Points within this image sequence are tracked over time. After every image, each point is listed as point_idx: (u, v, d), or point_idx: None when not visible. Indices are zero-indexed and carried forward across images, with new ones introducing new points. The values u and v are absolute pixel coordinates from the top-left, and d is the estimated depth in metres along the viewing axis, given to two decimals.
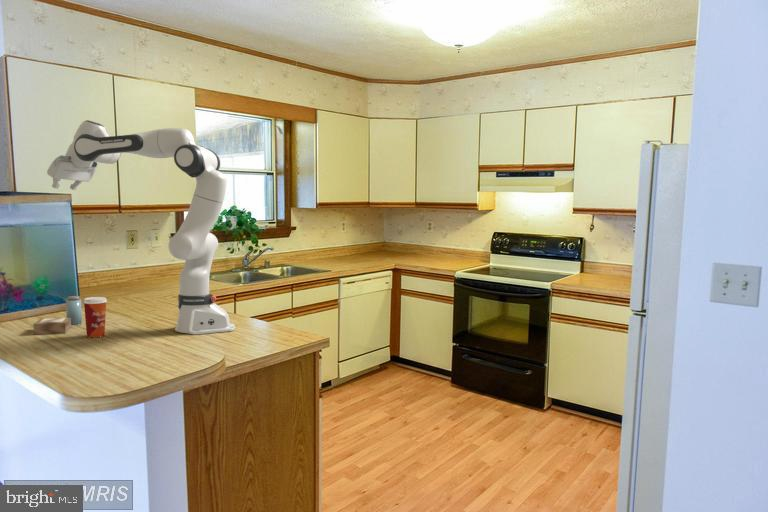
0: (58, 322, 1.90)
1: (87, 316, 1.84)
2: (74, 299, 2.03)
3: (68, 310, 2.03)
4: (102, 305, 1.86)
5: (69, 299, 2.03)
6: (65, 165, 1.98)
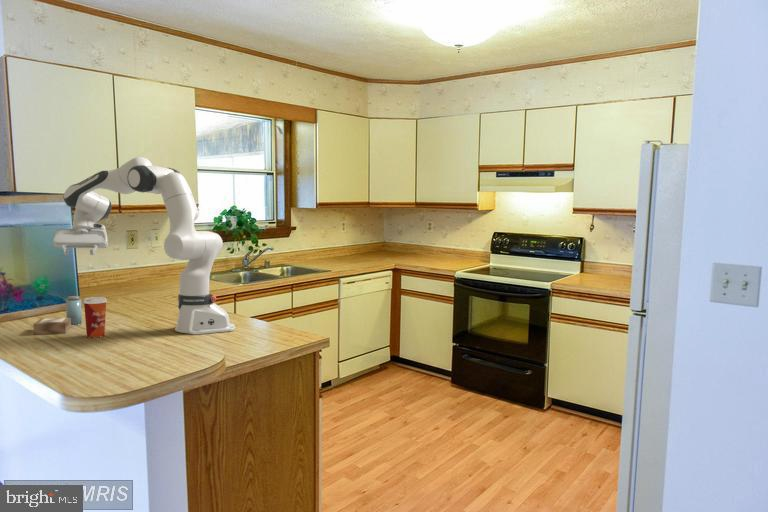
0: (58, 322, 1.90)
1: (87, 316, 1.84)
2: (74, 299, 2.03)
3: (68, 310, 2.03)
4: (102, 305, 1.86)
5: (69, 299, 2.03)
6: (62, 232, 2.18)
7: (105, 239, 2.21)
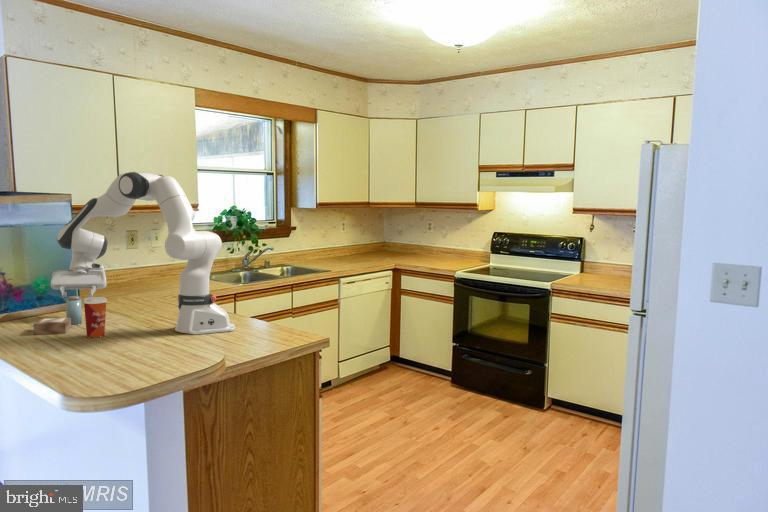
0: (58, 322, 1.90)
1: (87, 316, 1.84)
2: (74, 299, 2.03)
3: (68, 310, 2.03)
4: (102, 305, 1.86)
5: (69, 299, 2.03)
6: (60, 273, 2.13)
7: (104, 280, 2.16)
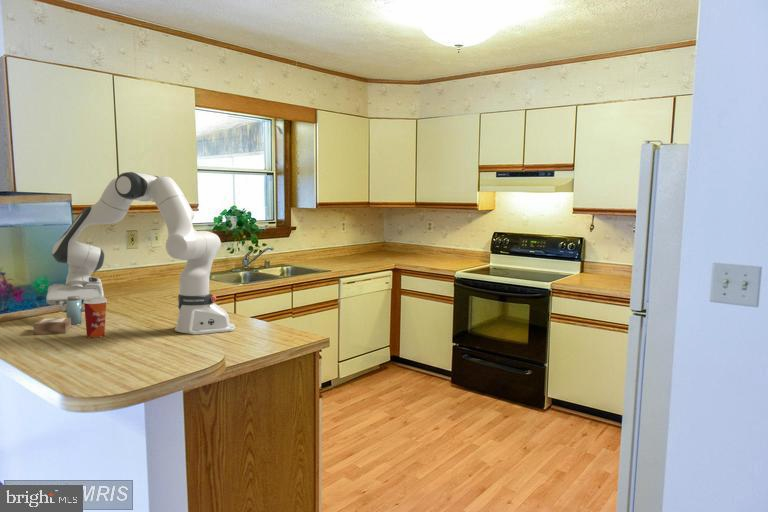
0: (58, 322, 1.90)
1: (87, 316, 1.84)
2: (74, 299, 2.03)
3: (68, 310, 2.03)
4: (102, 305, 1.86)
5: (69, 299, 2.03)
6: (56, 287, 2.07)
7: (101, 294, 2.11)
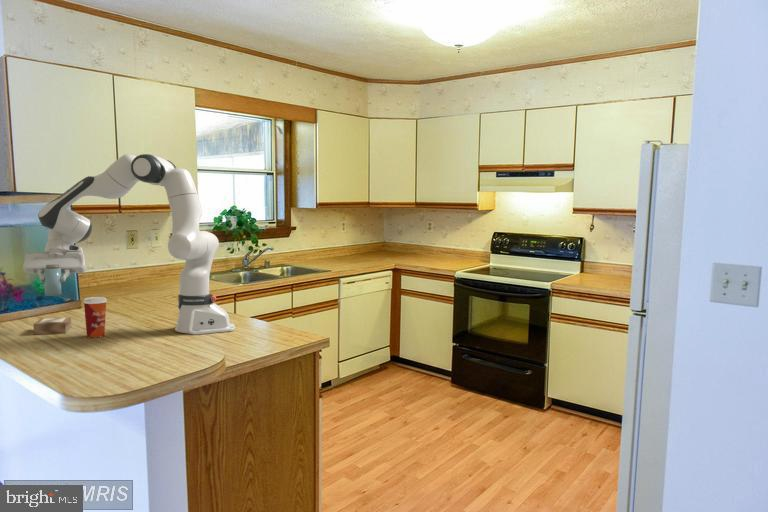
0: (58, 322, 1.90)
1: (87, 316, 1.84)
2: (53, 267, 1.90)
3: (46, 279, 1.90)
4: (102, 305, 1.86)
5: (48, 267, 1.90)
6: (34, 255, 1.94)
7: (82, 263, 1.98)
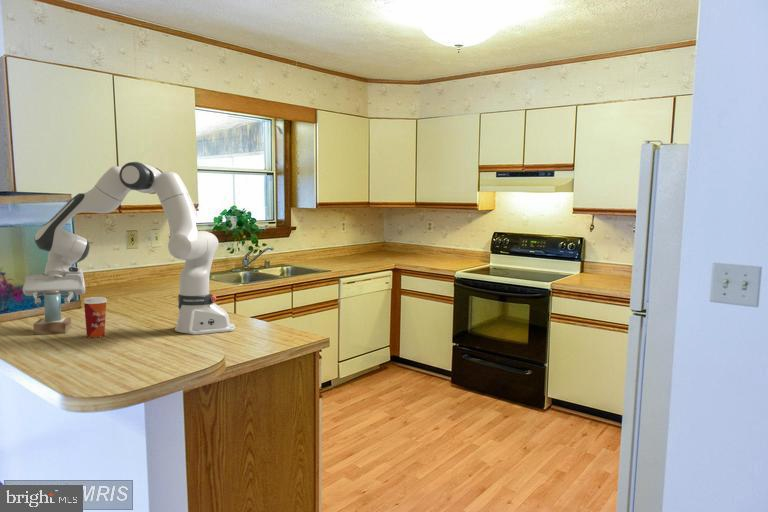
0: (58, 322, 1.90)
1: (87, 316, 1.84)
2: (53, 293, 1.91)
3: (46, 305, 1.90)
4: (102, 305, 1.86)
5: (48, 293, 1.90)
6: (33, 277, 1.95)
7: (82, 285, 1.98)
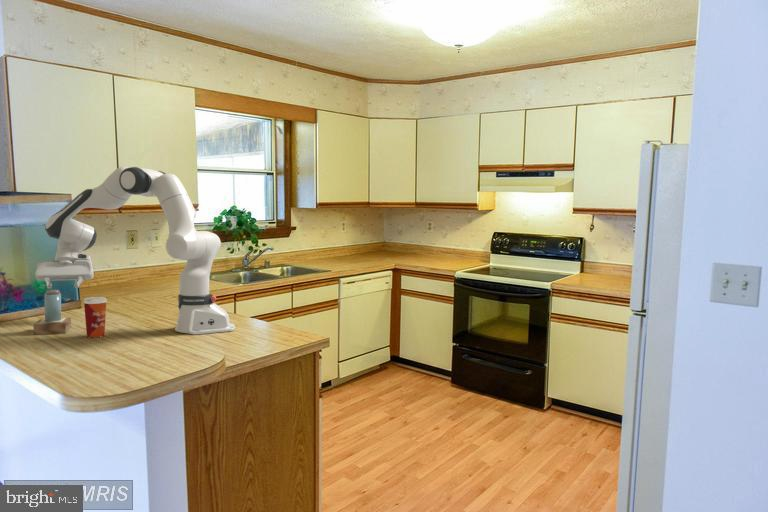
0: (58, 322, 1.90)
1: (87, 316, 1.84)
2: (53, 293, 1.91)
3: (46, 305, 1.90)
4: (102, 305, 1.86)
5: (48, 293, 1.90)
6: (45, 264, 2.07)
7: (90, 270, 2.10)
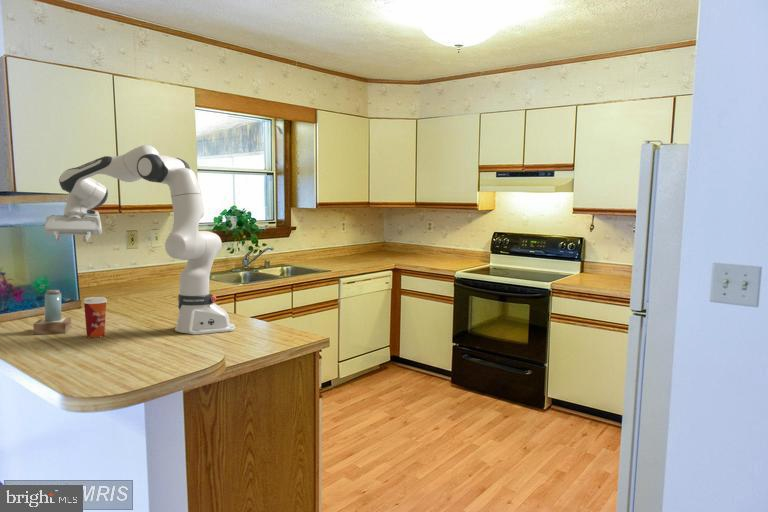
0: (58, 322, 1.90)
1: (87, 316, 1.84)
2: (53, 293, 1.91)
3: (46, 304, 1.90)
4: (102, 305, 1.86)
5: (48, 293, 1.90)
6: (54, 218, 2.08)
7: (99, 225, 2.12)
